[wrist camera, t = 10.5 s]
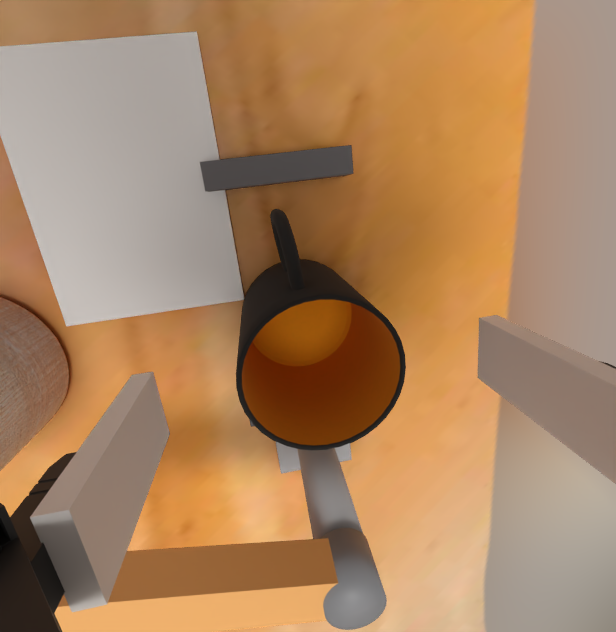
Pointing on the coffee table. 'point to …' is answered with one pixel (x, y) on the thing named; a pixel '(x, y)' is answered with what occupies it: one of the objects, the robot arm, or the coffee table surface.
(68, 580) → the robot arm
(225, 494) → the coffee table surface
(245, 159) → the dock
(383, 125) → the coffee table surface
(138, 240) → the mat
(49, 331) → the planter
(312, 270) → the mug
